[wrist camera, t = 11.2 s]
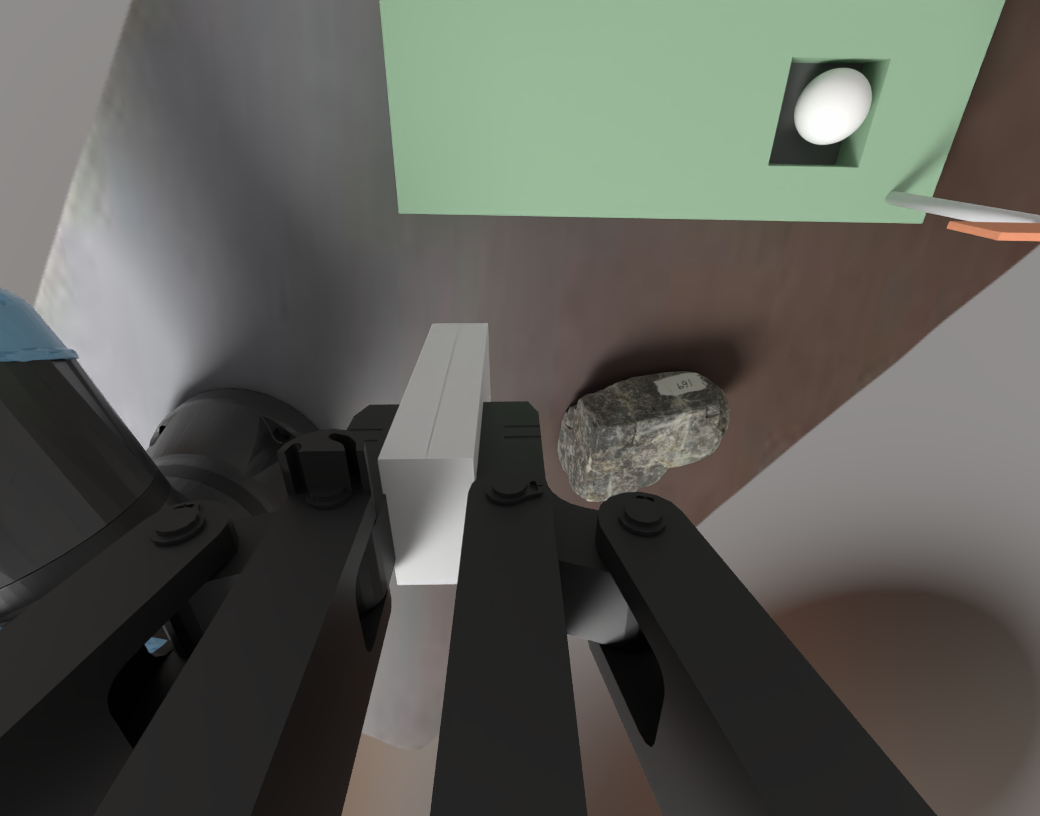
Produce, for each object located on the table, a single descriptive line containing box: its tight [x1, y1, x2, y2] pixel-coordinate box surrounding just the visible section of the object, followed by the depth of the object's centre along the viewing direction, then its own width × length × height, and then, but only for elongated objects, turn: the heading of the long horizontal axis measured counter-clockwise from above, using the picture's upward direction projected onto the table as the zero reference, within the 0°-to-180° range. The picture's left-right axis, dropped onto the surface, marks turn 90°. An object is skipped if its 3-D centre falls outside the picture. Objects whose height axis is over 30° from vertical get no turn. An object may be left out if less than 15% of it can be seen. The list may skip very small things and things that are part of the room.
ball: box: [794, 68, 872, 145], centre depth 31 cm, size 4×4×4 cm
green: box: [379, 0, 1040, 241], centre depth 26 cm, size 34×12×17 cm, turn 89°
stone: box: [558, 371, 730, 502], centre depth 41 cm, size 14×7×10 cm, turn 120°
